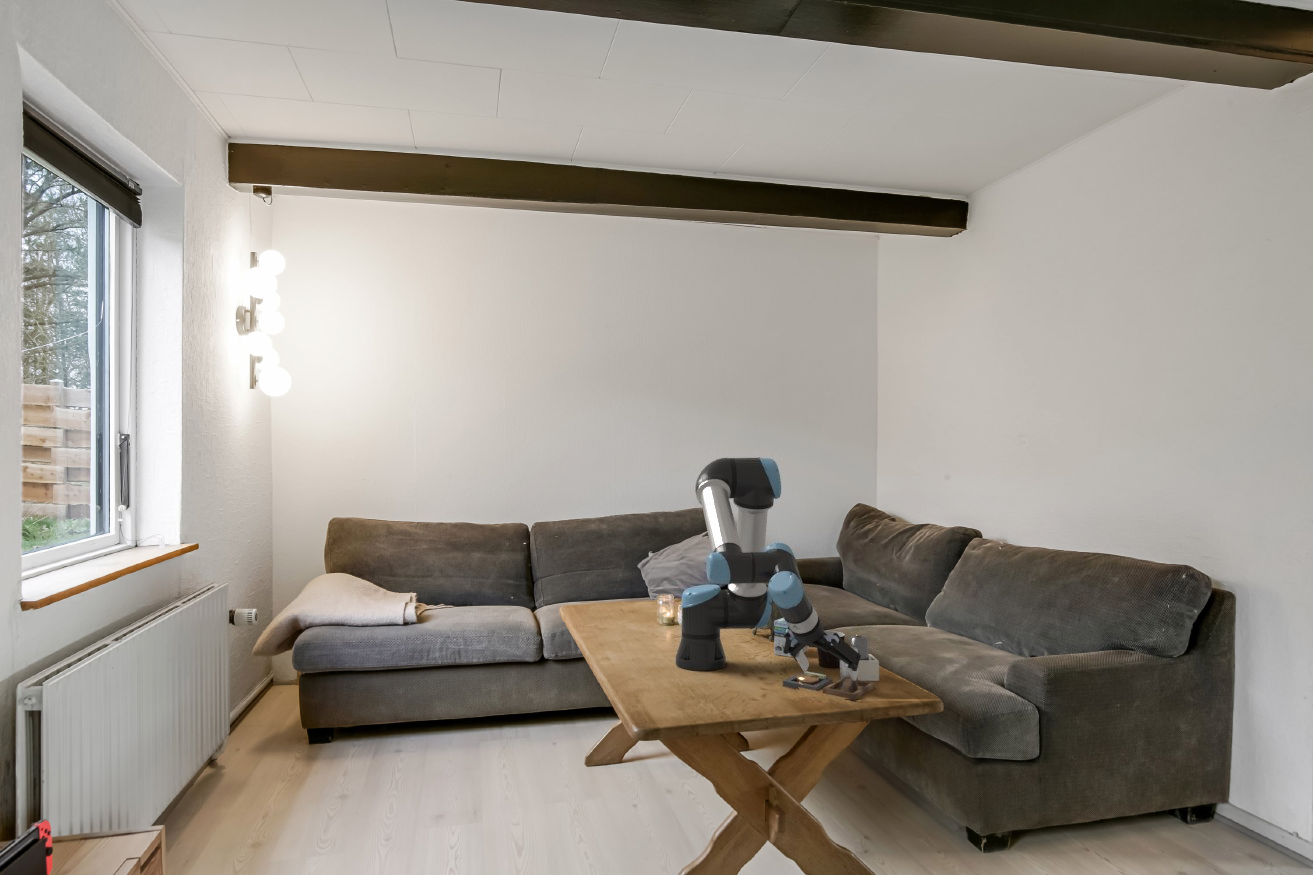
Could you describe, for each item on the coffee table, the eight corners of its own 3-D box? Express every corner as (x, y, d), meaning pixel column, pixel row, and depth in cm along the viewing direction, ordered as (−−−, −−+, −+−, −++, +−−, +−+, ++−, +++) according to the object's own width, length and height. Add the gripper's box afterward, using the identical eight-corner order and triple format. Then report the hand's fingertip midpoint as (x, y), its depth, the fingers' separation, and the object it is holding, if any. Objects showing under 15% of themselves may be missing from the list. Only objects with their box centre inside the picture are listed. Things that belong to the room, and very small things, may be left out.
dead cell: (852, 677, 223) (849, 636, 224) (854, 673, 227) (851, 632, 228) (868, 678, 221) (865, 636, 222) (870, 674, 226) (867, 633, 226)
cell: (842, 692, 209) (842, 648, 210) (838, 687, 214) (838, 644, 214) (859, 692, 209) (859, 648, 210) (854, 687, 214) (854, 644, 214)
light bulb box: (792, 657, 248) (792, 623, 248) (773, 654, 252) (773, 620, 252) (807, 651, 256) (807, 617, 256) (789, 648, 260) (789, 615, 260)
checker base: (816, 692, 211) (816, 684, 211) (782, 685, 218) (782, 677, 218) (832, 684, 219) (832, 676, 219) (800, 677, 225) (800, 669, 225)
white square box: (851, 682, 220) (851, 661, 221) (844, 675, 228) (844, 654, 228) (879, 682, 221) (878, 660, 221) (870, 674, 228) (870, 653, 228)
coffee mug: (825, 662, 242) (825, 629, 243) (850, 667, 236) (850, 633, 236) (803, 669, 234) (803, 635, 234) (828, 675, 228) (828, 640, 228)
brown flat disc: (812, 686, 214) (812, 680, 214) (792, 682, 218) (792, 677, 218) (822, 681, 219) (822, 675, 219) (803, 677, 223) (803, 672, 223)
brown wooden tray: (854, 701, 204) (854, 694, 204) (822, 694, 209) (822, 688, 209) (875, 689, 214) (875, 683, 214) (843, 683, 220) (843, 677, 220)
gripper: (753, 628, 197) (782, 676, 209) (847, 641, 182) (873, 692, 194) (763, 603, 202) (791, 652, 213) (856, 615, 187) (881, 666, 198)
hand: (830, 671), depth 204 cm, fingers open, 13 cm apart
